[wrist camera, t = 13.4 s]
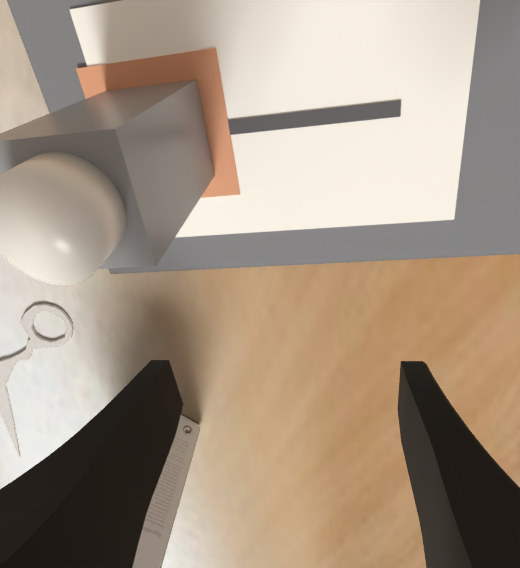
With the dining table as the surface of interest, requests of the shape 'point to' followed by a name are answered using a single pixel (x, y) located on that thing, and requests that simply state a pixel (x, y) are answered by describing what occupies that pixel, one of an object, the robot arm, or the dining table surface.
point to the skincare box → (166, 497)
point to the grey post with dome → (103, 181)
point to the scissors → (4, 367)
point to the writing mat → (316, 119)
